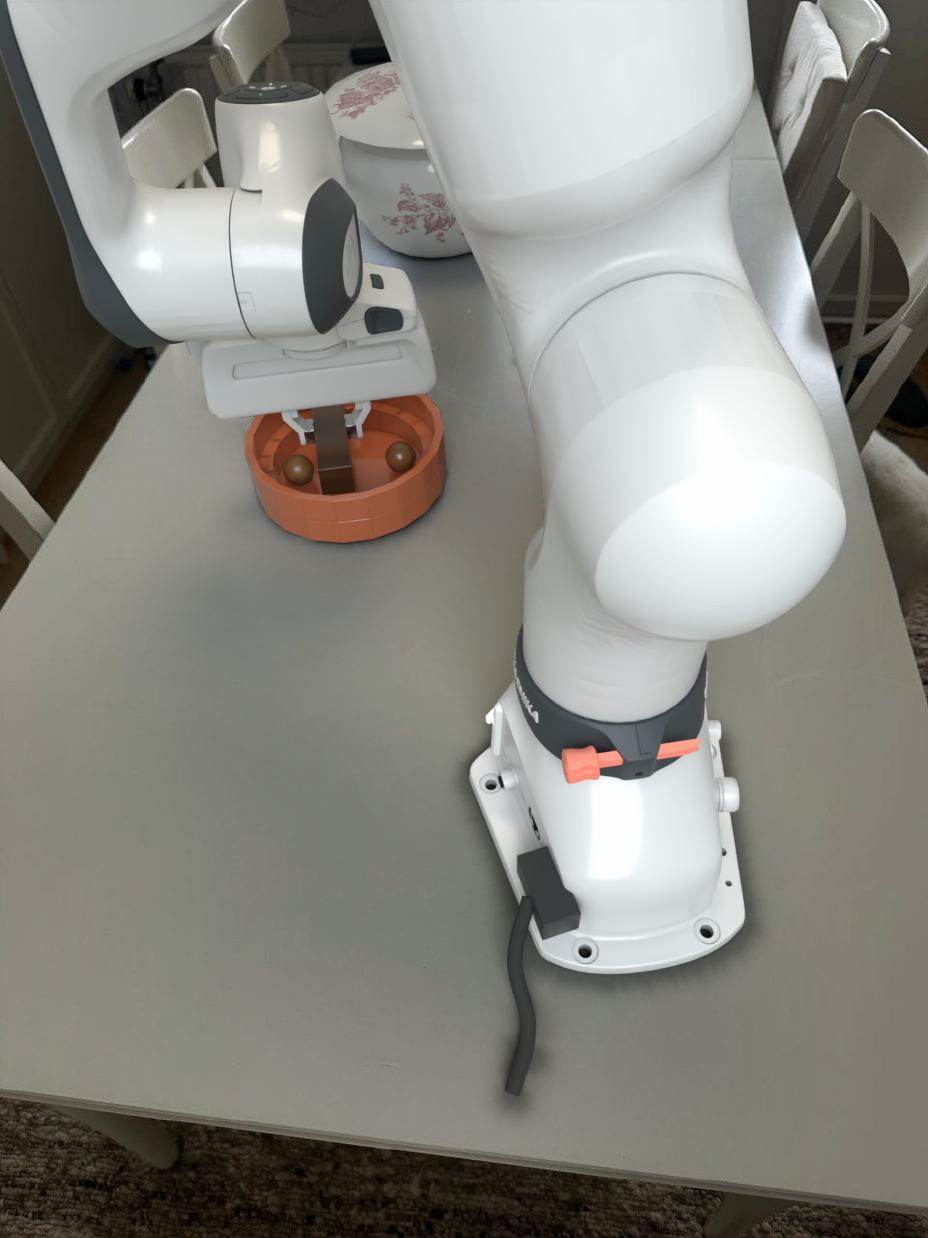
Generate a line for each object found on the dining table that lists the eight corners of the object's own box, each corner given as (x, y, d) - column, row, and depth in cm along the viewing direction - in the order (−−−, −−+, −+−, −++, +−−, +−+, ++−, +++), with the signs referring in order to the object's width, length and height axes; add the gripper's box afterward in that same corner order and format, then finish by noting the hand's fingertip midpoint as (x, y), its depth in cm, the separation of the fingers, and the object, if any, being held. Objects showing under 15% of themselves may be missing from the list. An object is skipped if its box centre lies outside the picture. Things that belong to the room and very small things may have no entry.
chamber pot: (313, 279, 111) (280, 102, 95) (366, 182, 128) (346, 18, 112) (530, 292, 107) (534, 109, 91) (555, 190, 124) (562, 21, 108)
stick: (355, 491, 79) (351, 465, 76) (322, 495, 79) (317, 470, 76) (345, 411, 86) (340, 385, 84) (315, 414, 86) (310, 389, 84)
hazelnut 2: (418, 476, 85) (416, 452, 82) (388, 480, 85) (384, 456, 82) (415, 456, 87) (412, 432, 84) (385, 460, 86) (382, 436, 84)
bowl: (458, 534, 81) (455, 485, 76) (258, 560, 79) (243, 513, 75) (434, 412, 92) (430, 364, 88) (259, 433, 91) (246, 386, 87)
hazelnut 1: (317, 489, 84) (311, 465, 82) (286, 493, 84) (279, 469, 82) (315, 469, 86) (310, 445, 84) (285, 473, 86) (279, 449, 84)
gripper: (177, 339, 68) (220, 474, 78) (435, 308, 69) (443, 444, 80) (179, 297, 71) (221, 431, 82) (423, 268, 73) (433, 403, 84)
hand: (332, 437), depth 81 cm, fingers closed on stick, 3 cm apart
